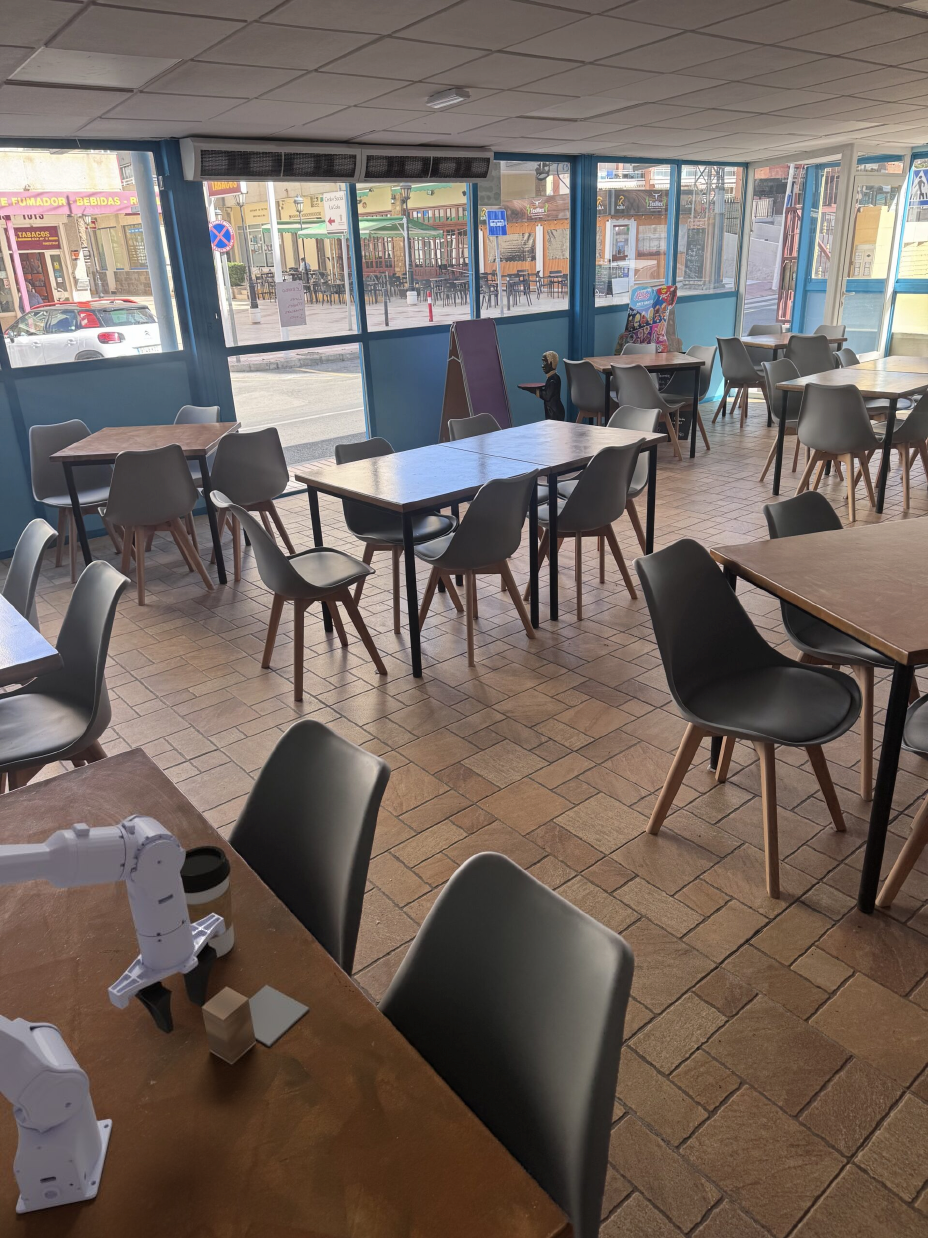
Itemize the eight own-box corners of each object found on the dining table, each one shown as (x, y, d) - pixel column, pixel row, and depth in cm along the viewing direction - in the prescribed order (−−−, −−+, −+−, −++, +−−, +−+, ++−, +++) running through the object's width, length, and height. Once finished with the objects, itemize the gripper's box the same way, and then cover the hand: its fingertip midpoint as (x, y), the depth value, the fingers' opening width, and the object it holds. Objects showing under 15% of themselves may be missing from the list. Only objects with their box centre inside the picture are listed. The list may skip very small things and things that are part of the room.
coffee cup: (171, 956, 127) (152, 868, 122) (212, 920, 134) (196, 836, 128) (214, 973, 123) (197, 883, 118) (254, 935, 130) (240, 849, 125)
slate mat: (269, 1047, 110) (268, 1045, 110) (226, 1021, 114) (225, 1019, 114) (309, 1009, 115) (309, 1007, 115) (266, 986, 120) (266, 985, 120)
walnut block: (231, 1064, 108) (223, 1020, 105) (210, 1051, 110) (201, 1007, 107) (256, 1042, 111) (248, 998, 108) (234, 1029, 113) (226, 986, 110)
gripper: (128, 973, 90) (151, 1074, 95) (235, 895, 101) (252, 989, 106) (87, 949, 94) (112, 1047, 98) (195, 876, 105) (213, 967, 110)
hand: (181, 1015), depth 102 cm, fingers open, 4 cm apart
